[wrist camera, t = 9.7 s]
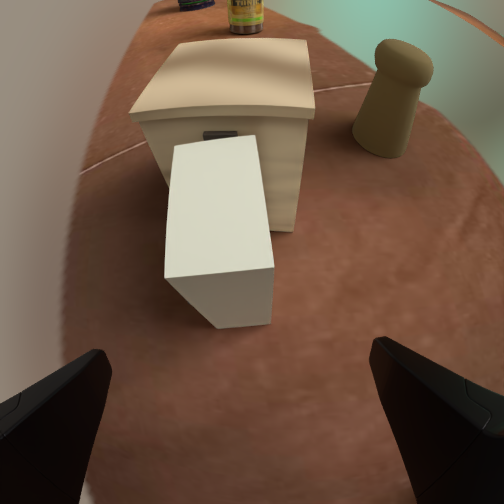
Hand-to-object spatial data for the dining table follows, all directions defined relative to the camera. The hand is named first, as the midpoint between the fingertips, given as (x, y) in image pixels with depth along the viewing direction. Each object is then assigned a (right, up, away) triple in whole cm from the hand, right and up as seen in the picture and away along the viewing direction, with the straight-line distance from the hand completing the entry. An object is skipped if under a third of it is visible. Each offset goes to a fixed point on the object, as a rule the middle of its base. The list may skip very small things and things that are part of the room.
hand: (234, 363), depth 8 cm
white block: (0, +1, +11) cm, 11 cm away
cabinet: (0, +9, +14) cm, 17 cm away
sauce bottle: (0, +43, +30) cm, 53 cm away
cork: (+14, +15, +17) cm, 26 cm away
